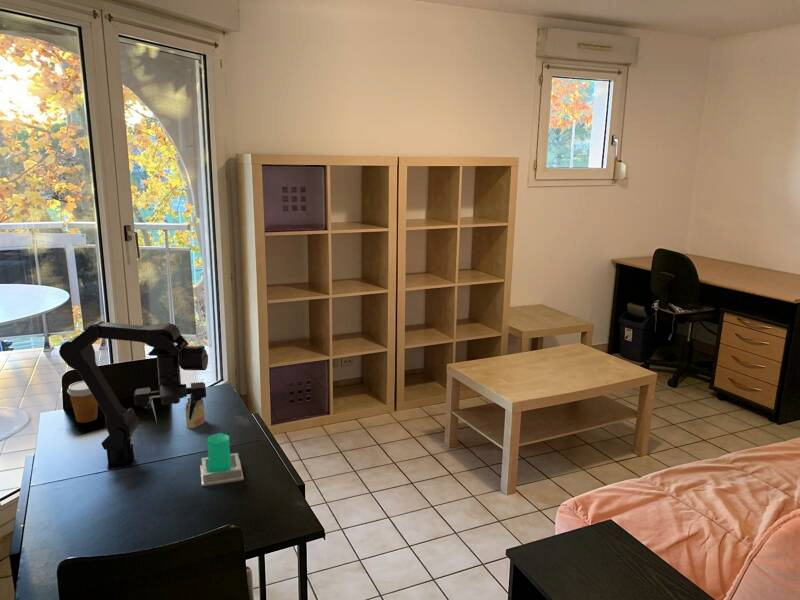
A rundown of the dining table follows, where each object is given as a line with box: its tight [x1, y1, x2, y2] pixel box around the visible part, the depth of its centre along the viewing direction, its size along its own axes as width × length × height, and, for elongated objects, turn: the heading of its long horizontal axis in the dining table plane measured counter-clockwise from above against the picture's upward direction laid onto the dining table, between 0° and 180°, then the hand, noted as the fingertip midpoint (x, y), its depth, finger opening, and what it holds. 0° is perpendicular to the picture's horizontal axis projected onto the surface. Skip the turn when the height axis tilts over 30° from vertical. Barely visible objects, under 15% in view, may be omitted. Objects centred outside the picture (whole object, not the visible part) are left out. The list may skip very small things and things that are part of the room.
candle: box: [206, 432, 231, 473], centre depth 168 cm, size 6×6×12 cm
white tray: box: [199, 452, 245, 488], centre depth 172 cm, size 11×17×4 cm, turn 20°
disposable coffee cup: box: [66, 380, 99, 424], centre depth 201 cm, size 10×10×12 cm
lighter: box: [185, 397, 206, 429], centre depth 199 cm, size 7×4×10 cm, turn 158°
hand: (172, 421), depth 172 cm, fingers open, 9 cm apart
